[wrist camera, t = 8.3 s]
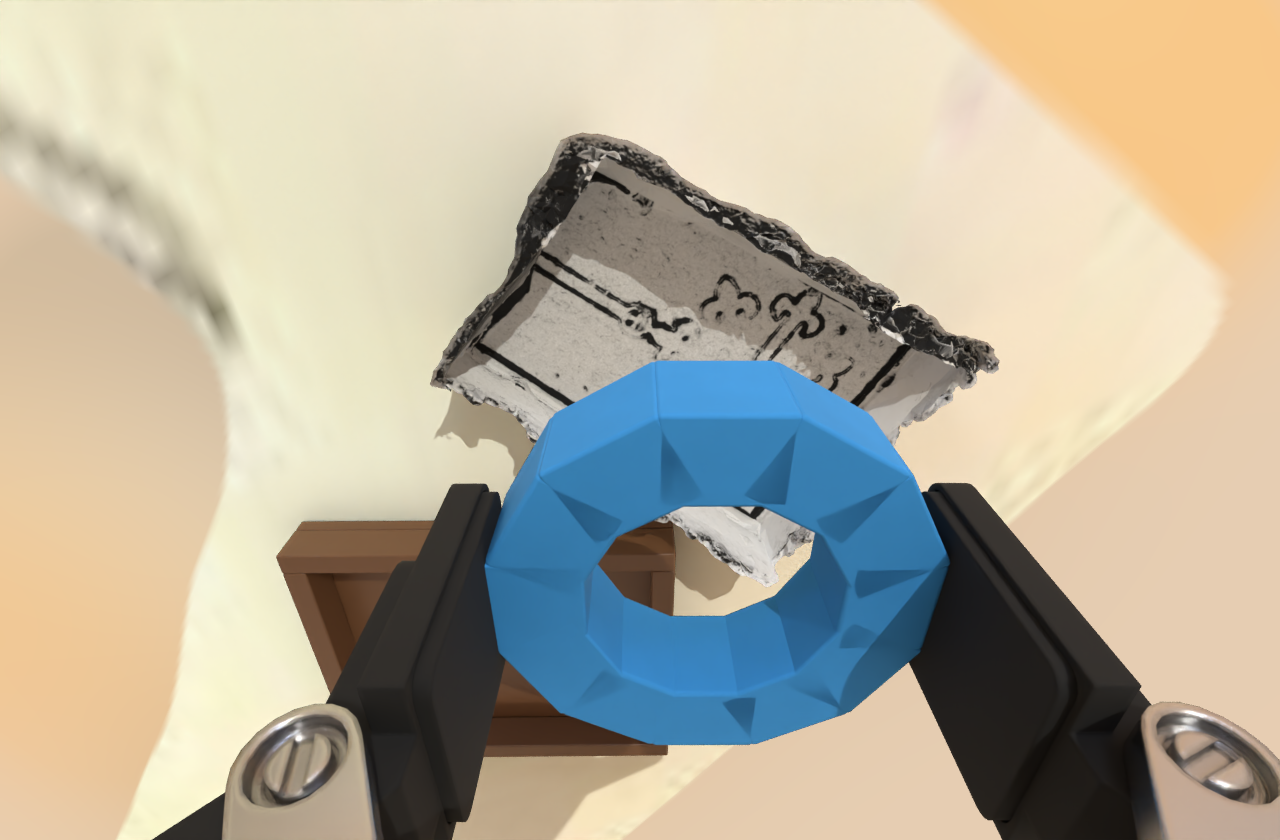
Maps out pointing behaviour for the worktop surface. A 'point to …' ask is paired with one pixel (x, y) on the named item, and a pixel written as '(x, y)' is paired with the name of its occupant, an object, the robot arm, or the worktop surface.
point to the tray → (523, 719)
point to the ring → (713, 477)
